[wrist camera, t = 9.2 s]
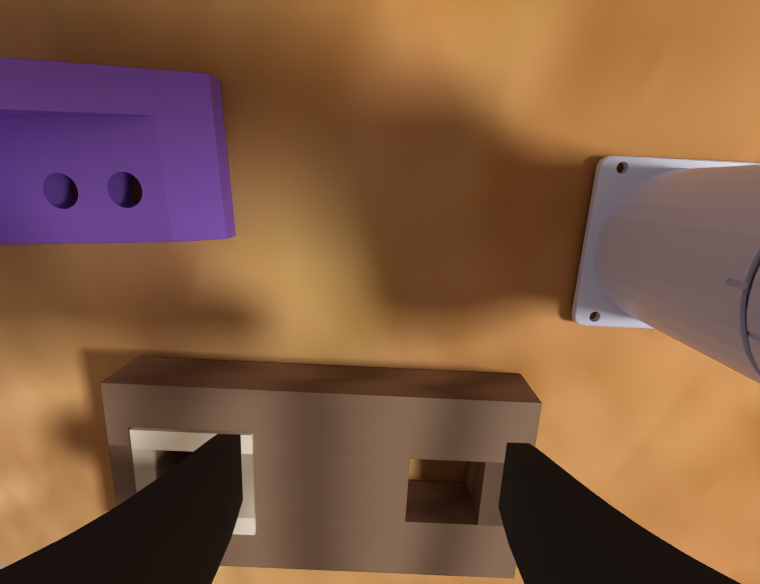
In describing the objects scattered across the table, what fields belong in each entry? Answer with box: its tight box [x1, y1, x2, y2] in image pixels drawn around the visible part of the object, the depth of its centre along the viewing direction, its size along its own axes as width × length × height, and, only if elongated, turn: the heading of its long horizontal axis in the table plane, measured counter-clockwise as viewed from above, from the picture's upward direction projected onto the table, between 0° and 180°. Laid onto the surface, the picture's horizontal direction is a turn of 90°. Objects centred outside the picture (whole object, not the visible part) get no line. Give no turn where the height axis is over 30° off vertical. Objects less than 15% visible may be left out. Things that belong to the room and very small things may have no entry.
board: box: [100, 356, 542, 578], centre depth 21 cm, size 20×10×3 cm, turn 87°
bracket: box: [0, 57, 236, 245], centre depth 16 cm, size 12×7×7 cm, turn 91°
